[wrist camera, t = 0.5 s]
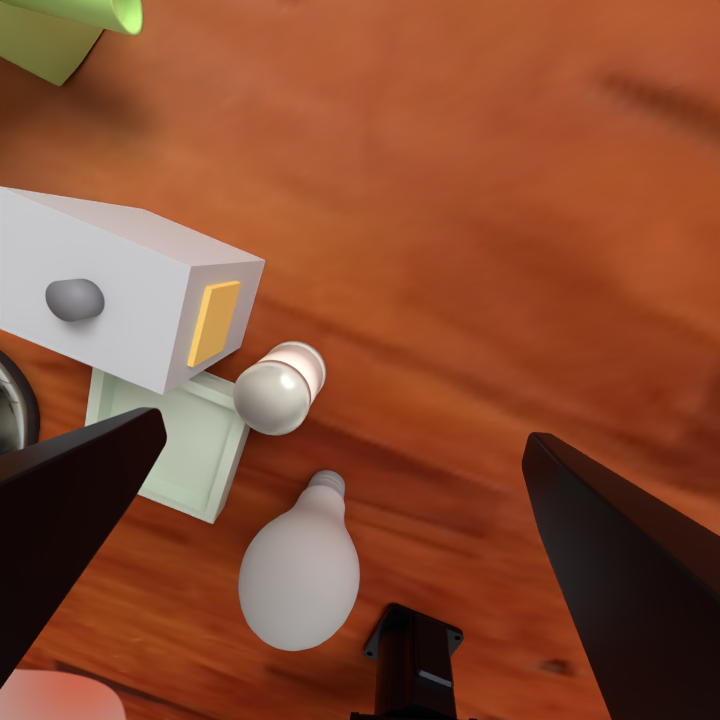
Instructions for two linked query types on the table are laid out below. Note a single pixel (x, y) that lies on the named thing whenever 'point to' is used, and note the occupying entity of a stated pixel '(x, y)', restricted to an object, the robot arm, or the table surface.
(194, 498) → the tray
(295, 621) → the lightbulb
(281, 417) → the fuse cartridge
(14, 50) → the gearbox
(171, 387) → the box
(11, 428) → the salad plate
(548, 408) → the table surface
